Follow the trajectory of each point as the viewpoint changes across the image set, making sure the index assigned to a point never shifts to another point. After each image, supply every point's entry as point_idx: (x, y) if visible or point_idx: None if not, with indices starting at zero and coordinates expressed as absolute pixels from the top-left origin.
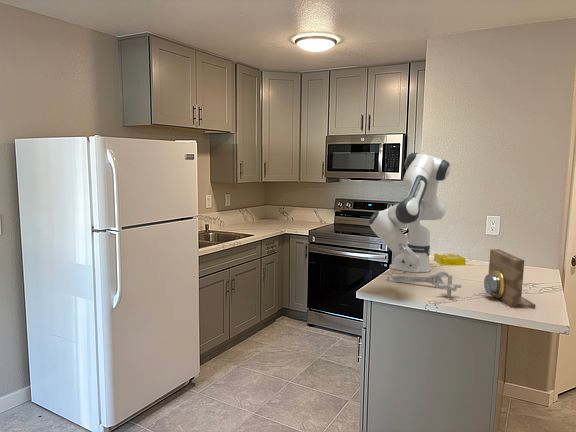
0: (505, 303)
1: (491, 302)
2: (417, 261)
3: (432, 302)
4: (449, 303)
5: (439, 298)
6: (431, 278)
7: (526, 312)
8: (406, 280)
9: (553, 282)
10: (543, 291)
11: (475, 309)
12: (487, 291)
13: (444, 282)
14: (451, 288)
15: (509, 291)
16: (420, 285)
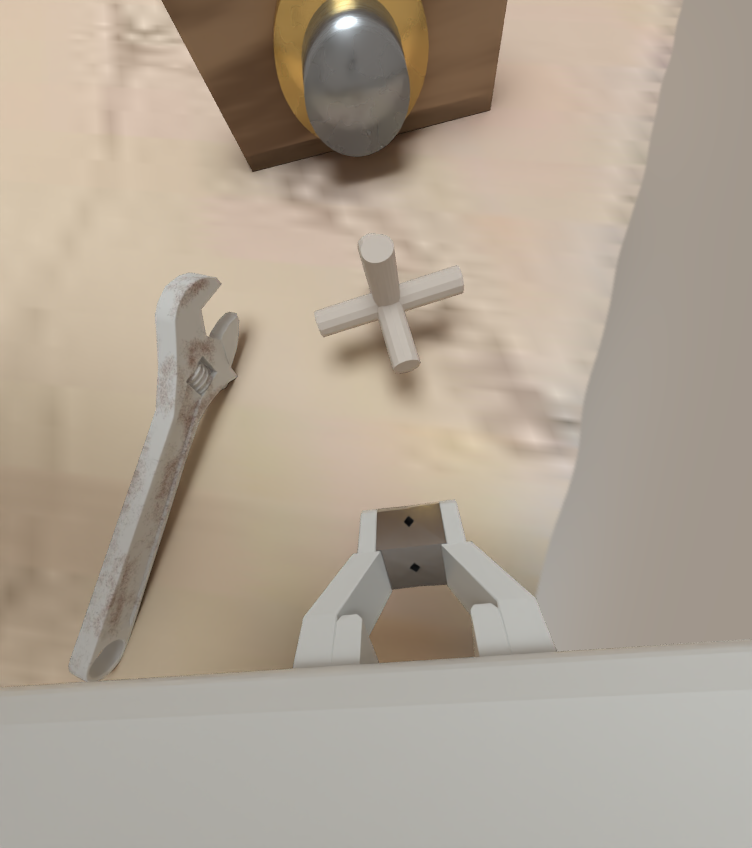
0: (439, 121)
1: (433, 169)
2: (485, 560)
3: (535, 433)
4: (521, 345)
5: (437, 386)
6: (187, 391)
7: (544, 66)
8: (149, 545)
9: None
10: None
11: (585, 238)
12: (370, 145)
13: (335, 322)
14: (446, 296)
15: (476, 26)
16: (194, 461)
